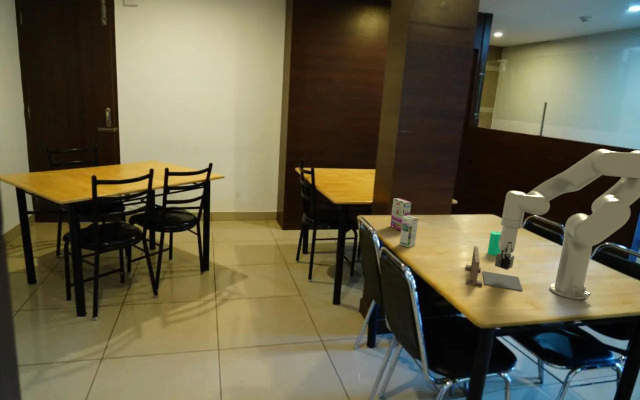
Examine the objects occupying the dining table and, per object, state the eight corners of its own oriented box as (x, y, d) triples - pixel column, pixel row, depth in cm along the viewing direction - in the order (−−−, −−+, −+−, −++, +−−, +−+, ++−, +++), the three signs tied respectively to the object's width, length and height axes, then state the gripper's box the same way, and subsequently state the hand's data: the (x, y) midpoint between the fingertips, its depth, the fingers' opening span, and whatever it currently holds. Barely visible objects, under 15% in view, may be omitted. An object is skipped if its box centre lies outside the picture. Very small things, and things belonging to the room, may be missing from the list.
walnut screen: (465, 266, 187) (468, 245, 184) (479, 269, 185) (483, 247, 183) (465, 284, 168) (469, 260, 166) (482, 287, 166) (485, 263, 164)
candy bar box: (408, 231, 234) (412, 202, 230) (401, 232, 232) (404, 202, 228) (397, 225, 244) (400, 197, 240) (389, 226, 241) (392, 198, 238)
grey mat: (518, 278, 178) (518, 276, 178) (522, 291, 165) (522, 290, 165) (482, 272, 182) (482, 271, 182) (484, 284, 169) (484, 283, 169)
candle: (501, 256, 203) (505, 232, 200) (488, 254, 204) (492, 230, 201) (499, 252, 209) (503, 228, 206) (486, 250, 210) (490, 227, 207)
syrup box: (398, 244, 211) (402, 216, 207) (405, 242, 215) (408, 214, 211) (408, 247, 207) (411, 219, 203) (415, 245, 211) (418, 217, 208)
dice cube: (512, 267, 172) (514, 255, 170) (506, 269, 168) (509, 258, 167) (500, 263, 175) (502, 251, 174) (494, 265, 172) (496, 254, 171)
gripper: (499, 215, 177) (492, 256, 181) (503, 226, 161) (495, 270, 165) (519, 218, 175) (511, 259, 179) (525, 229, 159) (516, 274, 163)
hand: (503, 264), depth 172 cm, fingers closed on dice cube, 6 cm apart
